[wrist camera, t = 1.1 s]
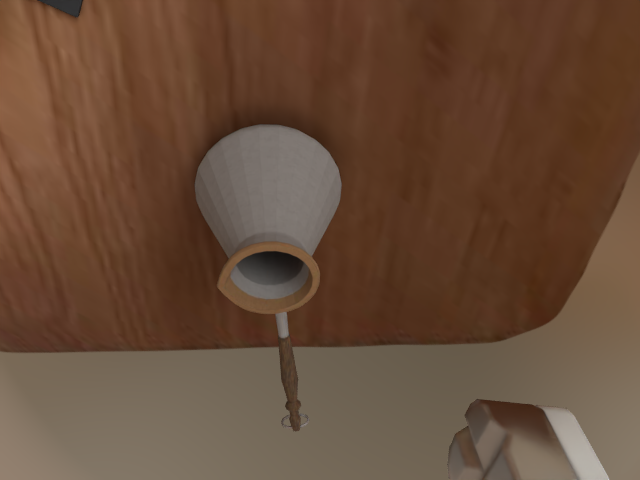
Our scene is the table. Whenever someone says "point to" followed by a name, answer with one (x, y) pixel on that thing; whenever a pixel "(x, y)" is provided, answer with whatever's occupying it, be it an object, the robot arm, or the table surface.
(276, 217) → the coffee pot
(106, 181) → the table surface
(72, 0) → the desk mat
